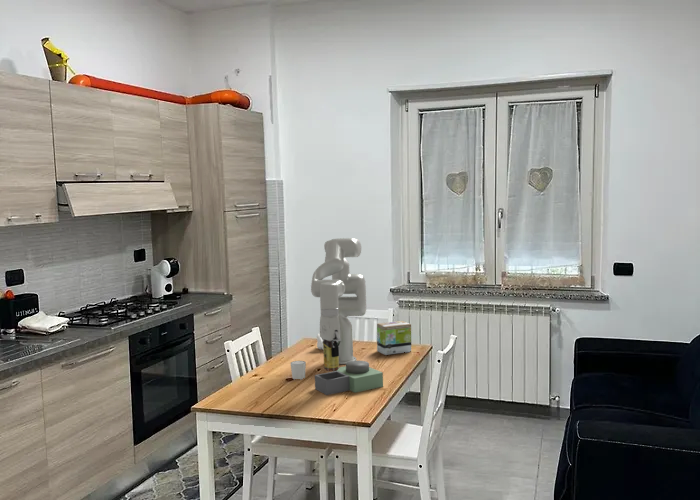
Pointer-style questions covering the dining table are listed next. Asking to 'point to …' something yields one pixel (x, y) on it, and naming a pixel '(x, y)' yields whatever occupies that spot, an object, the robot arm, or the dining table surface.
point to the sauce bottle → (329, 357)
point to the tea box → (393, 337)
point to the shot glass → (298, 369)
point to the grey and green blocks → (349, 379)
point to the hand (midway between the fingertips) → (331, 354)
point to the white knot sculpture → (319, 342)
